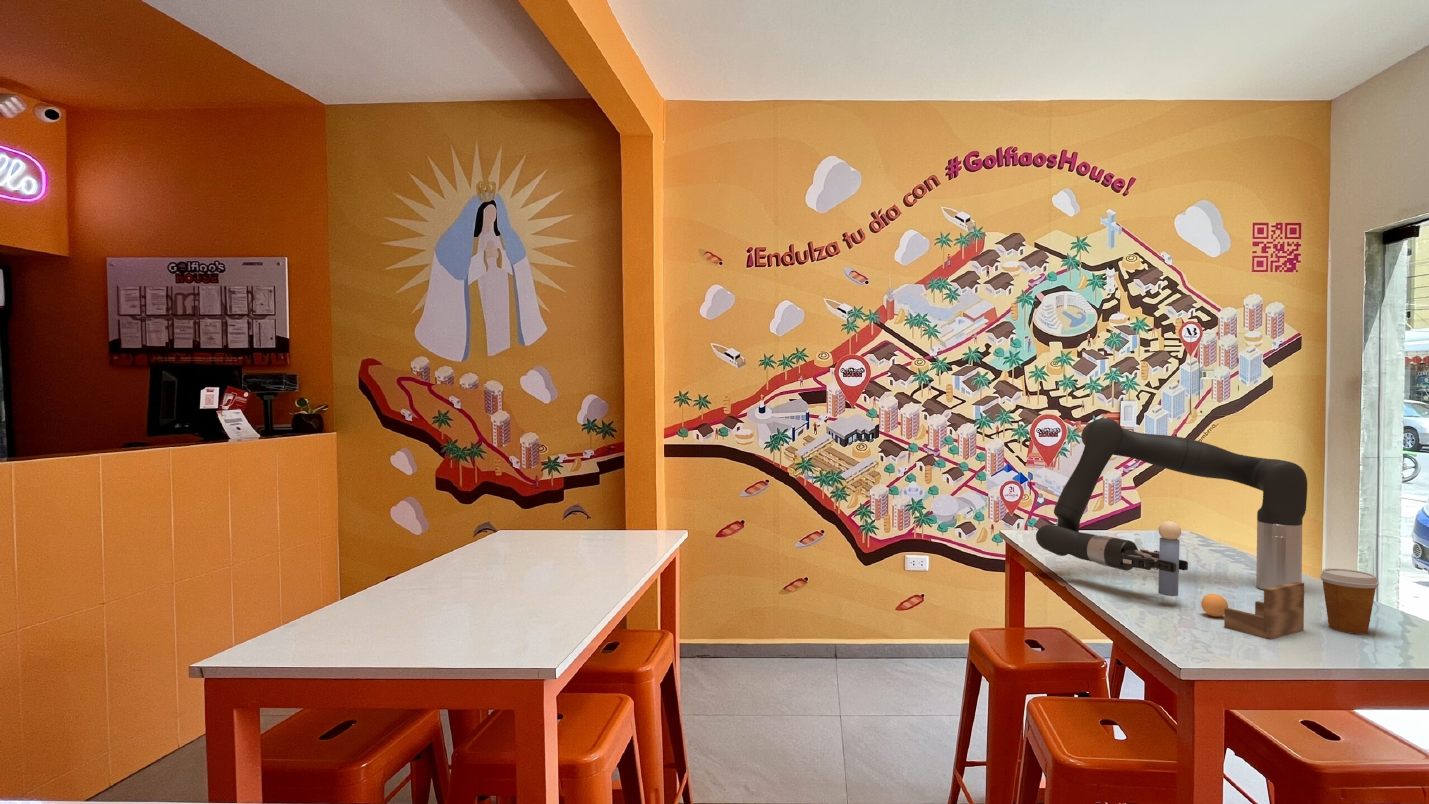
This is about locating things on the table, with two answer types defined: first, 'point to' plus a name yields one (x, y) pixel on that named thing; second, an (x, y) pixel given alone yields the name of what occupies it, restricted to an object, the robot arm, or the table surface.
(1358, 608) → the disposable coffee cup
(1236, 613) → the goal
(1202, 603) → the ball
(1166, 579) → the player figure
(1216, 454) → the robot arm
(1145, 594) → the table surface
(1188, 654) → the table surface
